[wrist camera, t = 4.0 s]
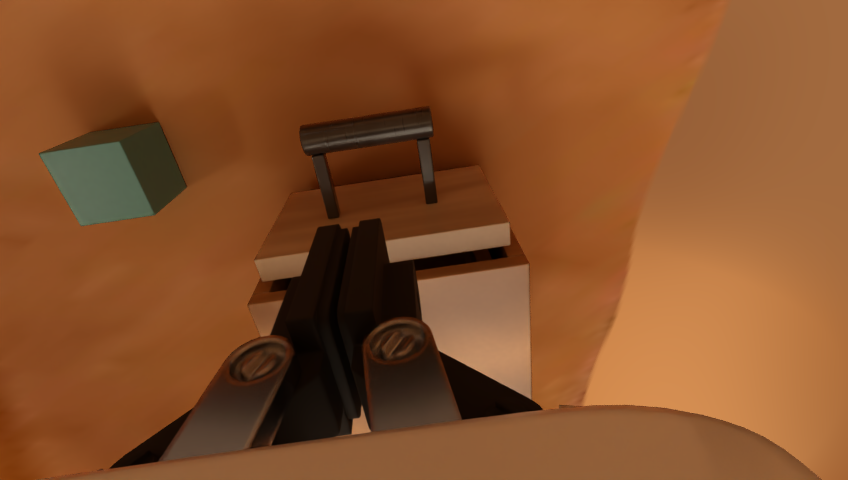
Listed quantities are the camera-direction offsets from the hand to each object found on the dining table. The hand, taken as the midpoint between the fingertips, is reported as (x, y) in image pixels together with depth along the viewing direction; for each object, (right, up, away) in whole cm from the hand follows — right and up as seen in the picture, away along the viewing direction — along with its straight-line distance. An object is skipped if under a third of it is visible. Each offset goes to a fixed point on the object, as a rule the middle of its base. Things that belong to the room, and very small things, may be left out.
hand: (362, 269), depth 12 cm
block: (-15, +6, +13) cm, 21 cm away
